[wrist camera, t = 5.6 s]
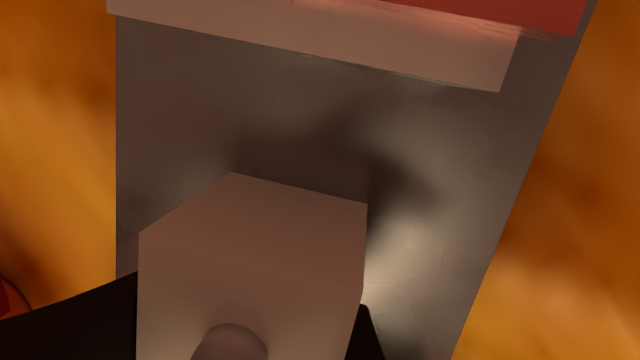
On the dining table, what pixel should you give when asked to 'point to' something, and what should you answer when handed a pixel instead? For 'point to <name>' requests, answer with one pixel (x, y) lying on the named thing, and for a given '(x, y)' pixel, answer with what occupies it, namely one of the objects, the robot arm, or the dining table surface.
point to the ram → (376, 31)
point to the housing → (251, 274)
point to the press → (340, 157)
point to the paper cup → (11, 300)
